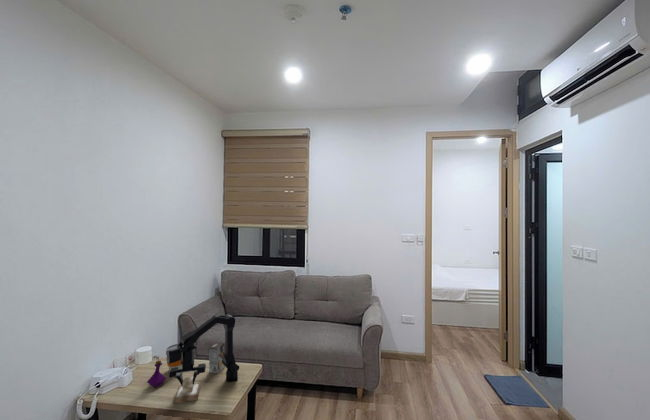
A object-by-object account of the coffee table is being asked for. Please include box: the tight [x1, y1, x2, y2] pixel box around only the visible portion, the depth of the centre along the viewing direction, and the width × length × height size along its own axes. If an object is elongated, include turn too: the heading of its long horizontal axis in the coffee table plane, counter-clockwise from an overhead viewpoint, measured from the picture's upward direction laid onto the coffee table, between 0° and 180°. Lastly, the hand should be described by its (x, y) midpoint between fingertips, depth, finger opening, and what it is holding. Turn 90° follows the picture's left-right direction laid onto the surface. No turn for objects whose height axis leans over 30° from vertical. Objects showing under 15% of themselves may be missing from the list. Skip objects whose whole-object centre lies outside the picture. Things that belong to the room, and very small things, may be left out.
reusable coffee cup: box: [165, 343, 184, 373], centre depth 202 cm, size 13×13×15 cm
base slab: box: [173, 382, 202, 405], centre depth 173 cm, size 12×12×3 cm
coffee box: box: [208, 341, 226, 374], centre depth 202 cm, size 9×6×16 cm
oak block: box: [183, 376, 193, 393], centre depth 173 cm, size 5×5×6 cm
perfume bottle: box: [147, 354, 167, 388], centre depth 184 cm, size 8×8×18 cm
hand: (188, 385), depth 173 cm, fingers open, 5 cm apart
